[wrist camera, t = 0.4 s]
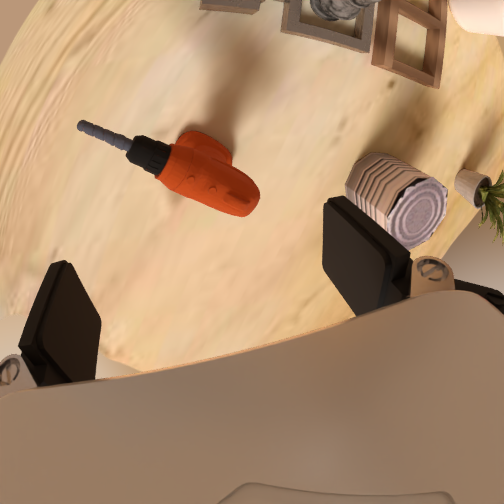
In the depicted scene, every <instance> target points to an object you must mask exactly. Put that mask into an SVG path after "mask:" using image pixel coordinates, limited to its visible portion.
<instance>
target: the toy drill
mask: <svg viewBox="0 0 504 504" xmlns="http://www.w3.org/2000/svg"><path fill="white" fill-rule="evenodd" d="M77 129H78V130H79V131H81V132H82V131H84V132H85V133H86V134H88V135H91V136H95V137H96V138H98V139H100V140H103V141H104V140H105V142H107V143H109V144H111V145H112V146H114V145H115V147H117V148H119V149H121V150H125V151H127V153H126V157H127V159H128V160H129V161H130V162H131V163H133V164H135V165H138V166H140V167H142V168H143V169H144V170H145V171H147V172H150V173H152V174H154V175H155V178H156V179H158V180H160V181H161V182H162V183H163V184H164V185H165V186H166V187H167V188H169V189H170V190H172V191H174V192H176V193H178V194H181V195H183V196H185V197H187V198H191V199H194V200H196V201H198V202H201V203H203V204H205V205H207V206H209V207H212V208H214V209H216V210H219V211H221V212H224V213H227V214H230V215H234V216H239V217H245V216H247V215H249V214H250V213H251V212H252V211H253V210H254V208H255V207H256V206H257V204H258V202H259V199H260V191H259V189H258V187H257V186H256V184H255V183H254V181H253V180H252V179H251V178H250V177H249V176H247V175H246V174H245V173H243V172H242V171H240V170H238V169H237V168H235V167H233V166H232V156H231V153H230V152H229V151H228V149H227V148H225V147H224V146H223V145H222V144H220V143H219V142H218V141H216V140H214V139H213V138H211V137H209V136H207V135H205V134H203V133H201V132H197V131H189V132H186V133H184V134H183V135H182V136H180V137H179V139H178V140H177V142H176V144H170V145H167V144H165V143H163V142H161V141H155V140H153V139H151V138H148V137H146V136H144V135H141V136H135V137H134V139H133V140H131V139H129V138H126V137H125V136H124V135H121V134H117V133H114V132H112V131H110V130H107V129H104V128H102V127H100V126H98V125H93V123H90V122H87V121H85V120H81V121H79V122H78V124H77Z"/></svg>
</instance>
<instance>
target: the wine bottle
mask: <svg viewBox="0 0 504 504" xmlns="http://www.w3.org/2000/svg"><path fill="white" fill-rule="evenodd" d="M449 7H450V10H451V13H452V15H453V17H454V19H455V20H456V22H457V23H458V24H459V25H460V27H462V28H463V29H464V30H466V31H469V32H472V33H482V34H490V35H497V36H504V0H449Z"/></svg>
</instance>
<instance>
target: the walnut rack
mask: <svg viewBox="0 0 504 504" xmlns="http://www.w3.org/2000/svg"><path fill="white" fill-rule="evenodd" d="M398 13H399V14H401V15H403V16H405V17H407V18H409V19H411V20H412V21H414V22H416V23H418V24H420V25H422V26H423V27H425V28H427V37H426V47H425V56H424V64H423V71H420V70H418V69H416V68H413V67H411V66H409V65H407V64H404V63H402V62H400V61H397V60H395V59H393V57H394V50H395V41H396V32H397V22H398ZM446 24H447V0H429V11H428V13H426V12H425V11H423V10H421V9H420V8H418V7H416V6H414V5H412V4H411V3H409V2H407V1H405V0H381V1H380V2H378V12H377V22H376V31H375V40H374V48H373V55H372V62H371V65H374V66H377V67H380V68H383V69H385V70H388V71H391V72H393V73H396V74H399V75H401V76H404V77H406V78H409V79H411V80H413V81H416V82H418V83H420V84H423V85H425V86H428V87H432V88H437V89H439V87H440V80H441V73H442V66H443V58H444V48H445V38H446Z"/></svg>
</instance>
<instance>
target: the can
mask: <svg viewBox="0 0 504 504" xmlns="http://www.w3.org/2000/svg"><path fill="white" fill-rule="evenodd" d="M345 189H346V196H347V198H348V199H349V200H350V201H351V202H353V203H354V204H355V205H356V206H357V207H359V208H360V209H361V210H362V211H363V212H365V213H366V214H367V215H368V216H369V217H371V218H372V219H373V220H374V221H375V222H377V223H378V224H379V225H380V226H381V227H382V228H384V229H385V230H386V231H387V232H388V233H389V234H390V235H392V236H393V237H394V238H395V239H396V240H397V241H398V242H399V243H401V244H402V245H403V246H404V247H405V248H406V249H407V250H410V249H412V248H414V247H416V246H418V245H420V244H421V243H423V242H425V241H427V240H429V238H430V237H431V236H432V234H433V233H434V231H435V230H436V228H437V227H438V225H439V224H440V222H441V221H442V219H443V218H444V216H445V215H446V205H447V193H448V189H447V188H446V187H444V186H443V185H442V184H441V183H440V182H438V181H437V180H436V179H435V178H433V177H430V176H429V175H427V174H425V173H423V172H421V171H420V170H418V169H416V168H414V167H412V166H410V165H408V164H406V163H405V162H403V161H401V160H399V159H397V158H395V157H393V156H391V155H389V154H383V153H369V154H368V155H366V156H365V157H364V158H362V159H361V160H359V161H358V162H357V163H355V164H354V165H353V168H352V170H351V172H350V174H349V177H348V179H347V181H346V184H345Z"/></svg>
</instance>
